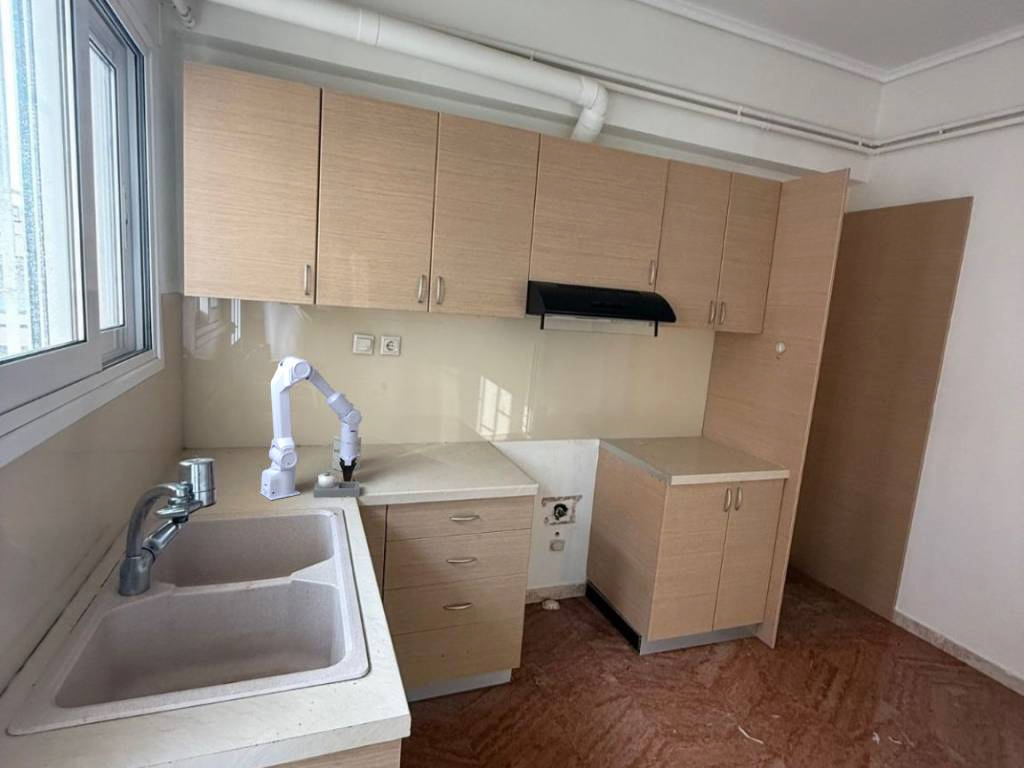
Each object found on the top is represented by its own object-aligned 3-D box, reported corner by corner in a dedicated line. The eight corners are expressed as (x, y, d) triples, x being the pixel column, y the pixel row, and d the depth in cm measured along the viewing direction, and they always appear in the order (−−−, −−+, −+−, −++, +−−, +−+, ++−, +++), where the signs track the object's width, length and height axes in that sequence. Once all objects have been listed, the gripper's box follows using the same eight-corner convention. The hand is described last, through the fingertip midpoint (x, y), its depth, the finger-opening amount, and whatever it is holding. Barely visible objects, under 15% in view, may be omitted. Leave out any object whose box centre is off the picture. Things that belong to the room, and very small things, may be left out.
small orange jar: (344, 486, 178) (345, 469, 177) (338, 482, 180) (339, 466, 180) (355, 483, 181) (356, 467, 180) (349, 480, 184) (349, 464, 183)
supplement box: (331, 468, 195) (332, 436, 193) (346, 464, 201) (347, 433, 200) (345, 473, 191) (347, 439, 190) (360, 468, 198) (362, 436, 196)
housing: (313, 497, 165) (314, 476, 164) (315, 489, 172) (316, 468, 172) (359, 496, 169) (360, 476, 168) (359, 488, 177) (360, 468, 176)
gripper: (361, 447, 173) (359, 486, 175) (360, 436, 187) (358, 472, 189) (339, 447, 171) (337, 486, 173) (340, 436, 185) (338, 472, 186)
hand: (347, 479), depth 181 cm, fingers closed on small orange jar, 4 cm apart
